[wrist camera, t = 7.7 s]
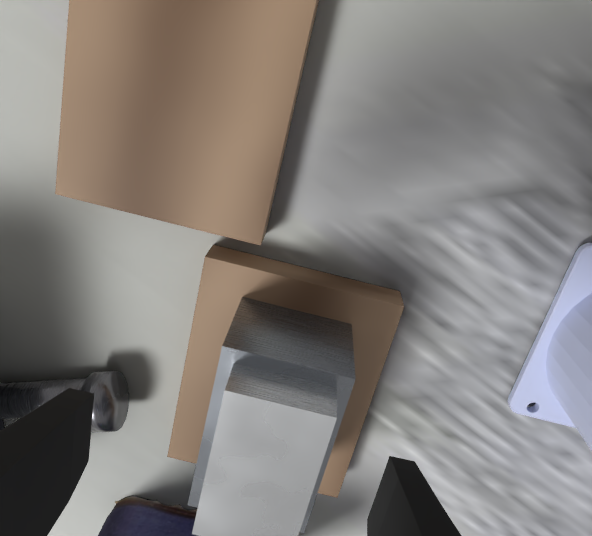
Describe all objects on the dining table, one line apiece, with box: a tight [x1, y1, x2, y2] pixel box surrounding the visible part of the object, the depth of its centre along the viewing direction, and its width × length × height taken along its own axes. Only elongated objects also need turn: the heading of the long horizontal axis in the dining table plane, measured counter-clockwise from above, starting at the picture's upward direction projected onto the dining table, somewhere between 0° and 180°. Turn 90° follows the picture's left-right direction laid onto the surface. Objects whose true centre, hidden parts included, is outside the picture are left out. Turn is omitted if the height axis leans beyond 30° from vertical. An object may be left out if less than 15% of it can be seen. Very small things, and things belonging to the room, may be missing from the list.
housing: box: [188, 297, 356, 536], centre depth 20 cm, size 4×7×6 cm, turn 166°
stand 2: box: [167, 245, 404, 498], centre depth 23 cm, size 8×10×2 cm
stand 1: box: [55, 0, 319, 246], centre depth 19 cm, size 8×10×2 cm
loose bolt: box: [0, 371, 129, 432], centre depth 24 cm, size 6×3×3 cm, turn 97°
